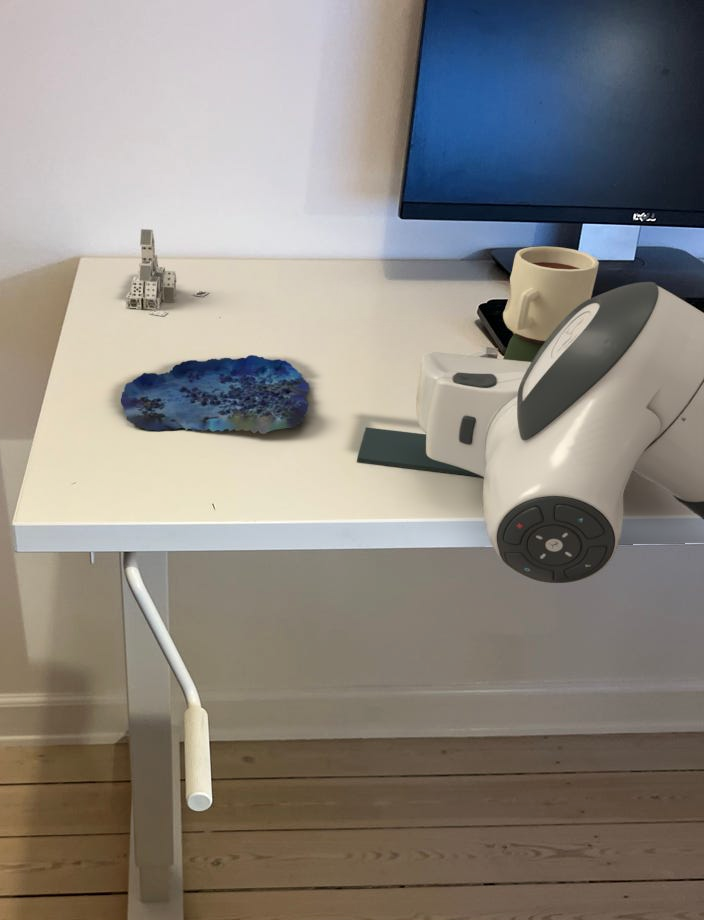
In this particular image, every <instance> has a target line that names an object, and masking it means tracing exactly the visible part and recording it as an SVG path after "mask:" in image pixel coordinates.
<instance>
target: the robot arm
mask: <svg viewBox="0 0 704 920" xmlns="http://www.w3.org/2000/svg"><path fill="white" fill-rule="evenodd" d="M498 356H499V348H498V347H489V346H480V347H479V352H475V353H474V354H470V355H465V354H455V353H445V352H431V353H426V354H424V355H423V356H422V357H421V360H420V367H419V373H418V381H417V388H416V390H417V391H416V396H415V412H416V417H417V422H418V425H419V427H420V429H421V430H422V431H423V432H424V434H426V454H427V456H428V457H429V458H431V459H433V460H436V461H440V462H443V463H447V464H450V465H453V466H457V467H460V468H463V469H466V470H468V471H471V472H473V473H476V474H478V475H480V476H483V477H482V478H483V486H482V488H483V491H482V505H483V517H484V518H483V519H484V523H485V529H486V534H487V536H488V538H489V541H490V544H491V547H492V548H493V550H494V551H495V553H496V554H497V556H498V558H499V559H500V560H501V561H502V562H503V563H504V564H505V565H506V566H508V568H510V569H512V570H513V571H515V572H516V573H518V574H520V575H522V576H524V577H527V578H529V579H531V580H534V581H537V582H542V583H548V584H549V583H550V584H567V583H575V582H579V581H582V580H585V579H588V578H590V577H592V576H595V575H596V574H598V573H599V572H600V571H602V570H604V568H606V567H607V566H608V565H609V563H610V562H611V561H612V560H613V558H614V556H615V555H616V552H617V551H618V547H619V545H620V540H621V537H622V533H623V532H622V531H623V523H624V522H623V521H624V492H625V489H626V486H627V484H628V482H629V479H630V477H631V474H632V472H634V473H635V474H637V475H639V476H641V477H642V478H645V480H647V481H649V482H650V483H653V484H654V485H656V486H657V487H659V488H661V489H662V490H664V491H666V492H668V493H669V494H671V495H672V496H673V497H674V498H675V500H677V502H679V503H680V504H682V505H683V506H685V508H687V509H688V510H690V511H691V512H693V513H694V514H695V515H697V517H699V518H700V519H702V520H704V312H703V311H701V310H699V309H698V308H696V307H695V306H693V305H692V304H690V303H688V302H687V301H685V300H683V299H682V298H680V297H678V296H677V295H675V294H673V293H671V292H670V291H669V290H666V289H664V288H663V287H661V286H660V285H657V283H656V282H653V281H640V282H634V283H630V284H626V285H622V286H618V287H615V288H613V289H610V290H608V291H606V292H603V293H601V294H598V295H596V296H593V297H591V299H589V300H587V301H585V302H583V303H582V304H580V305H579V306H578V307H576V308H575V309H574V310H573V311H572V312H571V313H570V314H569V315H568V316H567V317H566V318H565V319H564V320H563V321H562V322H561V323H560V324H559V325H558V326H557V328H556V329H555V330H554V331H553V332H552V334H551V335H550V336H549V337H548V339H547V340H546V341H545V343H544V344H543V345H542V347H541V348H540V350H539V351H538V353H537V354H536V356H535V357H534V359H533V361H532V362H526V361H516V360H506V359H503V358H498Z"/></svg>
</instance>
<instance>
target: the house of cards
mask: <svg viewBox="0 0 704 920" xmlns="http://www.w3.org/2000/svg"><path fill="white" fill-rule="evenodd" d="M139 241H140V242H139V246H140V248H141V260H140V262H139V263H138V266H139V268H138V269H139V270H138V271H137V273H138V275H134V276H133V278H132V280H131V285H130V290H129V291H128V292H127V294H126V296H125V308H126V309H130V308H136V309H135V310H141V309H143V311H144V310H152V311H151V312H149V315H152V316H153V315H154V316H160V317H164V316H166V315H167V314H168V313H169V312H168V311H162V310H160V304H161V303H162V301H163V302H164V303H175V299H176V298H177V277H176V276H177V275H176V271H175V270H166V268H165V266H159V261H158V254H156V253H155V252H156V250H155V236H154V230H153V229H149V228H140V239H139ZM209 293H210V292H209V291H205V290H198V291H196V292H195V293H193V294H192V295H193V296H197V297H202V298H203V297H204V296H206V295H207V294H209Z"/></svg>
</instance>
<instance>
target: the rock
mask: <svg viewBox="0 0 704 920" xmlns="http://www.w3.org/2000/svg"><path fill="white" fill-rule="evenodd" d="M309 390H310V383H309V382H308V381H306V380H305V378H304V377H303V374H302V373H301V372H299V371H298V370H297V369H296V368H295V367H293V365H292V364H291V363H290V362H289V361H288V362H287V360H281V359H279V358H278V359H270V358H269V359H268V358H264V357H263V356H258V355H254V354H250V355H247V356H246V357H239V358H234V359H233V358H231V357H221V358H220V359H218V358H211V359H207V360H201V361H200V360H196V359H190V360H186V361H181V363H179V364H175V365H174V366H173V367H172V368H171V369H170V370H169V372H168V371H166V372H164V373H159V374H158V373H155V372H150V373H149V372H148V373H147V372H143V373H142V374H141V375H139V376H137V377H136V378H134V379H133V380H132V381H129V382H127V383H126V384H125V385H124V388H123V391H122V392H121V398H120V404H121V406H122V410H123V413H124V415H125V416H126V420H127V422H129V423H131V424H132V425H134V427H135V428H139V429H144V430H145V431H155V432H160V431H162V430H166V431H167V430H168V431H169V430H170V431H176V430H178V429H184V430H185V431H187V430H189V429H190V430H192V431H193V432H195V431H201V432H204V431H207V430H210V431H211V432H216V431H220V432H223V431H224V430H228V431H229V432H231V431H233V430H234V431H240V430H243V431H246V432H247V431H250V432H251V433H254V434H255V433H257V432H259V433H260V434H261V435H265V434H267V433H269V432H272V431H276V430H281V429H294V428H296V427H297V426H298V425H299V424H302V422H303V419H304V418H305V415H307V412H308V410H309V407H310V404H309V403H310V402H309V401H306V398H307V396H308V395H309V393H308V392H309Z"/></svg>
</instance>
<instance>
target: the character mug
mask: <svg viewBox="0 0 704 920" xmlns="http://www.w3.org/2000/svg"><path fill="white" fill-rule="evenodd" d="M513 259H514V260H513V264H512V271H511V274H510V276H509V283H510V286H509V287H510V290H509V293H508V299H507V302H506V305H505V308H504V310H503V312H502V318H503V322H504V324H505V326H506V328H507V329H508V330H510V331H511V332H512V334H513V335H512V337H511V338H510V339H509V341H508V344H507V347H506V349H505V353H504V355H503V358H502V359H506V360H516V361H526V362H532V361H533V359H534V357H535V356H536V354H537V353H538V351H539V350H540V348H541V347H542V345H543V344H544V343H545V341H546V340H547V339H548V337H549V336H550V335H551V334H552V332H553V331H554V330H555V329H556V328H557V326H558V325H559V324H560V323H561V322H562V321H563V320H564V319H565V318H566V317H567V316H568V315H569V314H570V313H571V312H572V311H573V310H574V309H575V308H576V307H578V306H579V305H580V304H582V303H583V302H585V301H587V300H589V299H591V298H592V296H593V290H594V286H595V283H596V278H597V274H598V270H599V264H600V262H599V261H598V259H597V258H596V257H595V256H593V255H592V254H589V253H587V252H584V251H580V250H577V249H573V248H567V247H561V246H560V247H559V246H544V245H543V246H529V247H525V248H522V249H519V250H518V251H516V253H515V255H514V258H513Z"/></svg>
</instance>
